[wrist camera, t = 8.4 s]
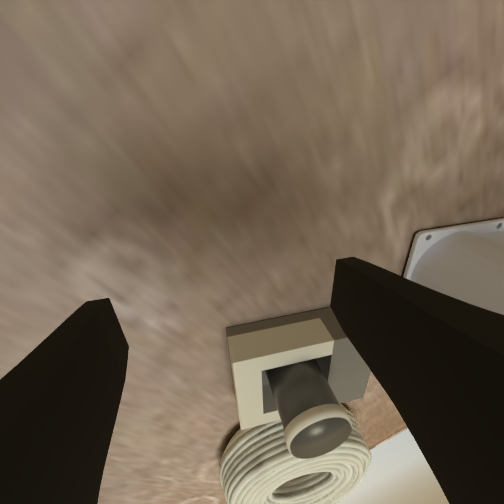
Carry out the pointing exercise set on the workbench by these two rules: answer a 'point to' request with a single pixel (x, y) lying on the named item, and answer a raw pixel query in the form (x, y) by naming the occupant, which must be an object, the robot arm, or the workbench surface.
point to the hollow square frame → (291, 360)
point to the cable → (289, 468)
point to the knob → (308, 409)
